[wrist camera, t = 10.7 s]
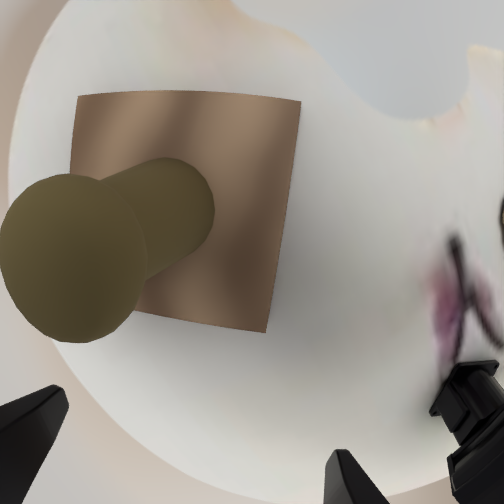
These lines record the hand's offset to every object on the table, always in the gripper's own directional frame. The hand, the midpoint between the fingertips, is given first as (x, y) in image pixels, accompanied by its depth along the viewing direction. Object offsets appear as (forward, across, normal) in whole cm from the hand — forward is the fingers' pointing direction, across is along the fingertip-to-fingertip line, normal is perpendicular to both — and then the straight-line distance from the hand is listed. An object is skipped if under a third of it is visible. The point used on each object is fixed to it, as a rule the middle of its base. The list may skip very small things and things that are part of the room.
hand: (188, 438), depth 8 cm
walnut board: (+12, +5, -4) cm, 14 cm away
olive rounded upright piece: (+11, +5, -5) cm, 13 cm away
